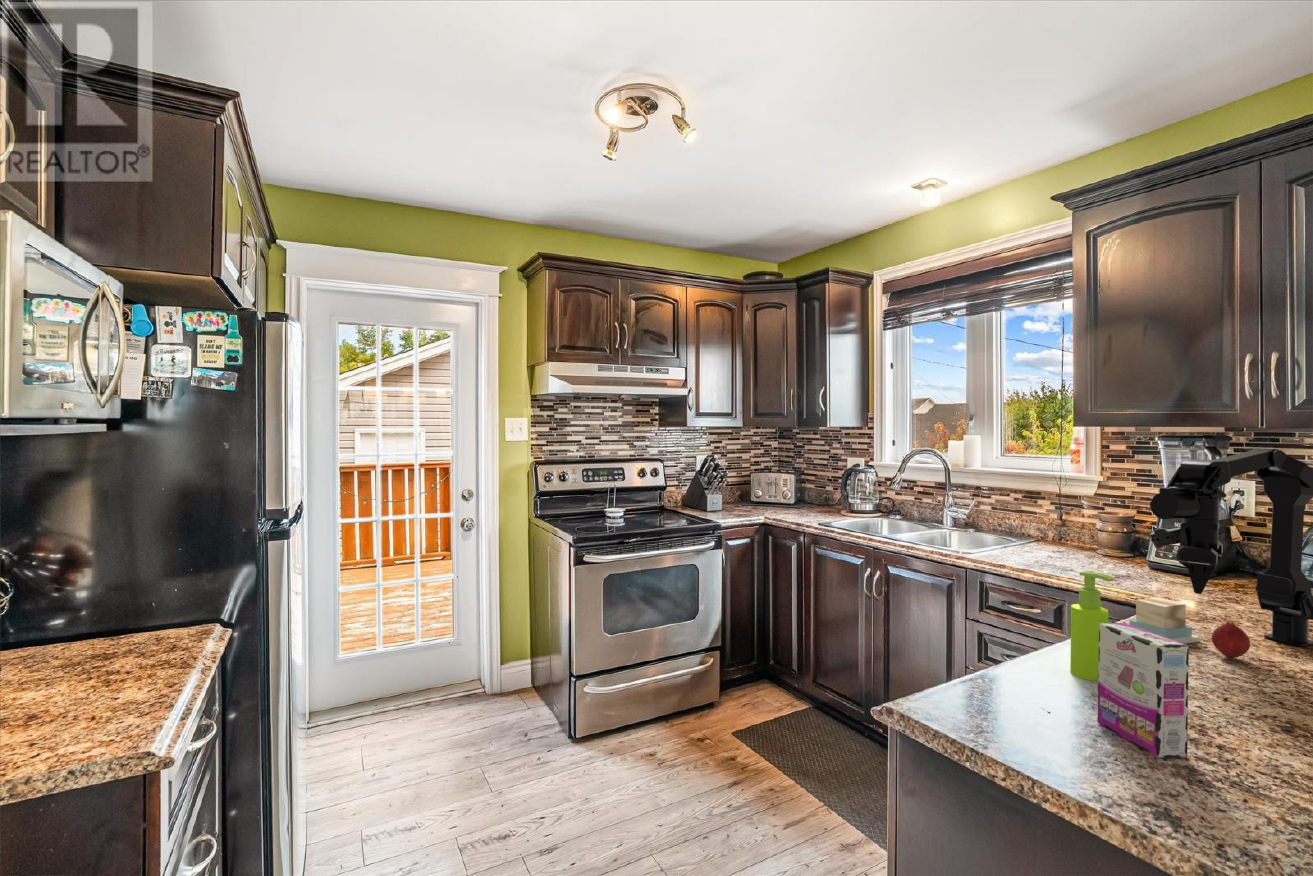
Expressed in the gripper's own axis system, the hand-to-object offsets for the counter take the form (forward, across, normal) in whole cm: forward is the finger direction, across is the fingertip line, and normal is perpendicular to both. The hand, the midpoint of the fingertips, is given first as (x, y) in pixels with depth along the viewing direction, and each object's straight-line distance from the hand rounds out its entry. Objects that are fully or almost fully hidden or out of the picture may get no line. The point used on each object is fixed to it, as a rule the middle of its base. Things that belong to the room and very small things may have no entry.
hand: (1200, 589), depth 132 cm
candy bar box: (+13, +59, -2) cm, 61 cm away
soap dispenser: (+13, +35, -13) cm, 40 cm away
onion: (+13, +3, +5) cm, 14 cm away
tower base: (+13, -4, -7) cm, 15 cm away
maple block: (+10, -4, -7) cm, 13 cm away
